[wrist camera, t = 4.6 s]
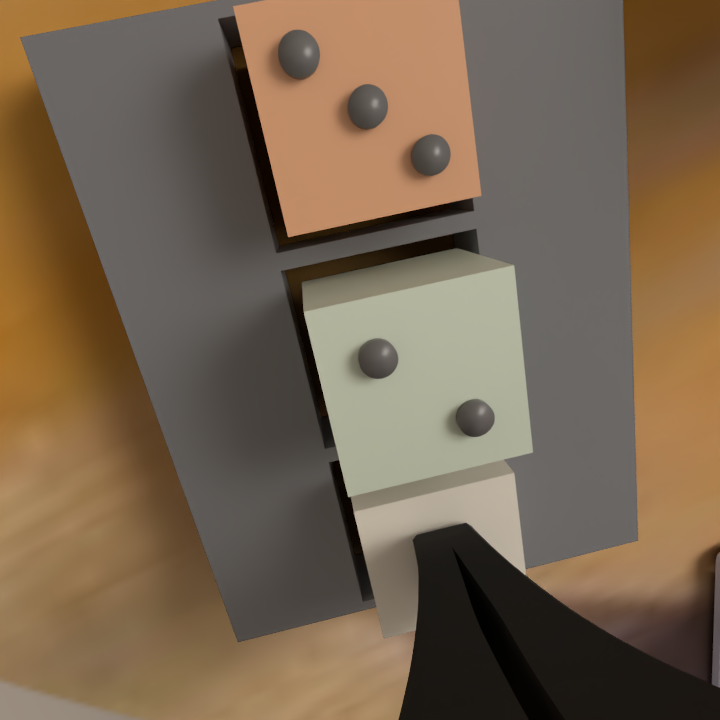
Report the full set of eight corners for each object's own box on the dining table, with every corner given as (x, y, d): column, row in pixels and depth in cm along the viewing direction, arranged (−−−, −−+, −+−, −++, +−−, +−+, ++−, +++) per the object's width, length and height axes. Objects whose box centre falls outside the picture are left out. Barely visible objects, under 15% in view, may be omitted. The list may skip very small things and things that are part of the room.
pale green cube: (476, 391, 13) (537, 457, 10) (335, 425, 13) (349, 503, 10) (456, 247, 12) (518, 266, 9) (302, 282, 12) (303, 314, 9)
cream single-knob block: (483, 521, 16) (532, 607, 13) (366, 550, 16) (385, 645, 13) (467, 414, 15) (517, 477, 12) (341, 443, 15) (354, 517, 11)
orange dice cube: (435, 196, 13) (485, 196, 10) (290, 228, 13) (287, 237, 9) (411, 28, 12) (458, -42, 8) (250, 59, 12) (231, 1, 8)
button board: (600, 502, 17) (637, 540, 15) (244, 591, 16) (237, 642, 14) (570, -33, 12) (620, -76, 10) (65, 64, 12) (20, 37, 10)
